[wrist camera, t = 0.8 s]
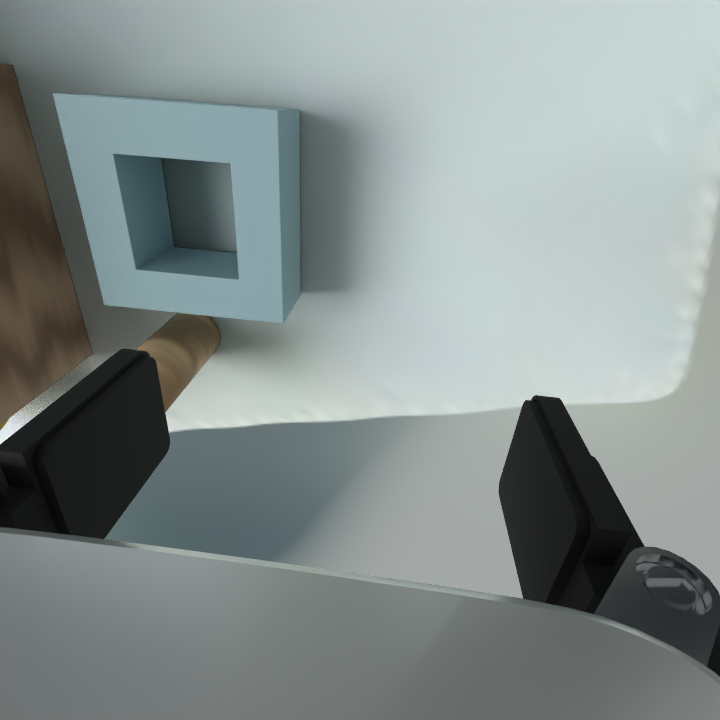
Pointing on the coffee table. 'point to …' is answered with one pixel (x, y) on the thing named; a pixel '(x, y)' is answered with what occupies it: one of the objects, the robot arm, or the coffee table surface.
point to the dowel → (181, 351)
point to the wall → (31, 269)
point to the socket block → (151, 213)
